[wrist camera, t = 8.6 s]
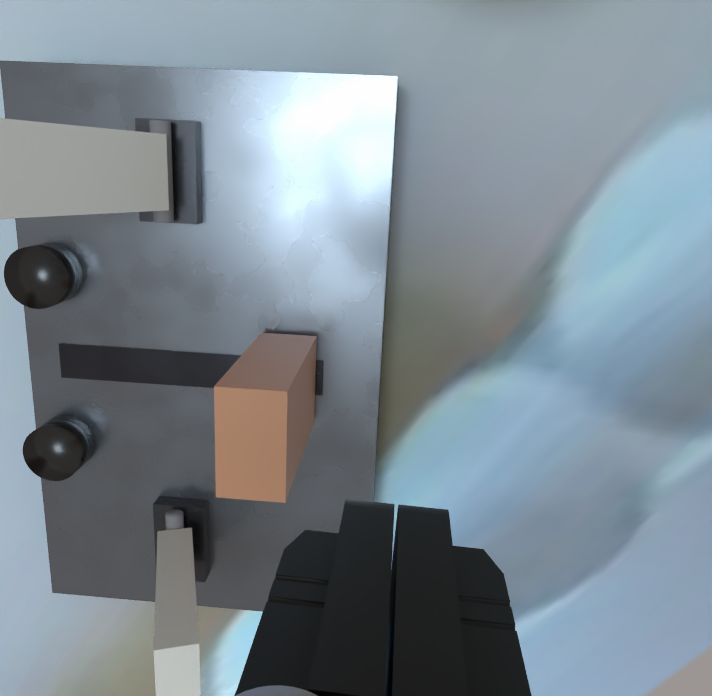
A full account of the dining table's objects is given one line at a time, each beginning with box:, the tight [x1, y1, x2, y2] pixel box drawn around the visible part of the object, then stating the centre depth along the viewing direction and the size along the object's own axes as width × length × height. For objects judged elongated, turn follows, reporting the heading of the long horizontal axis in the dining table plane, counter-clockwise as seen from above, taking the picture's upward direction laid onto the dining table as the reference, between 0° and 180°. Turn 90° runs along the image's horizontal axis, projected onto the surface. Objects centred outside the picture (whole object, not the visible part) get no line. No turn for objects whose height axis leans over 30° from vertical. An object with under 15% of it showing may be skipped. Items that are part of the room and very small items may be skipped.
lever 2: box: [154, 509, 200, 696], centre depth 26 cm, size 2×4×8 cm, turn 178°
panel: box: [0, 61, 398, 611], centre depth 29 cm, size 16×25×4 cm, turn 177°
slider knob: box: [214, 333, 317, 503], centre depth 24 cm, size 2×4×7 cm, turn 177°
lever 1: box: [0, 118, 174, 222], centre depth 22 cm, size 2×4×8 cm, turn 177°
